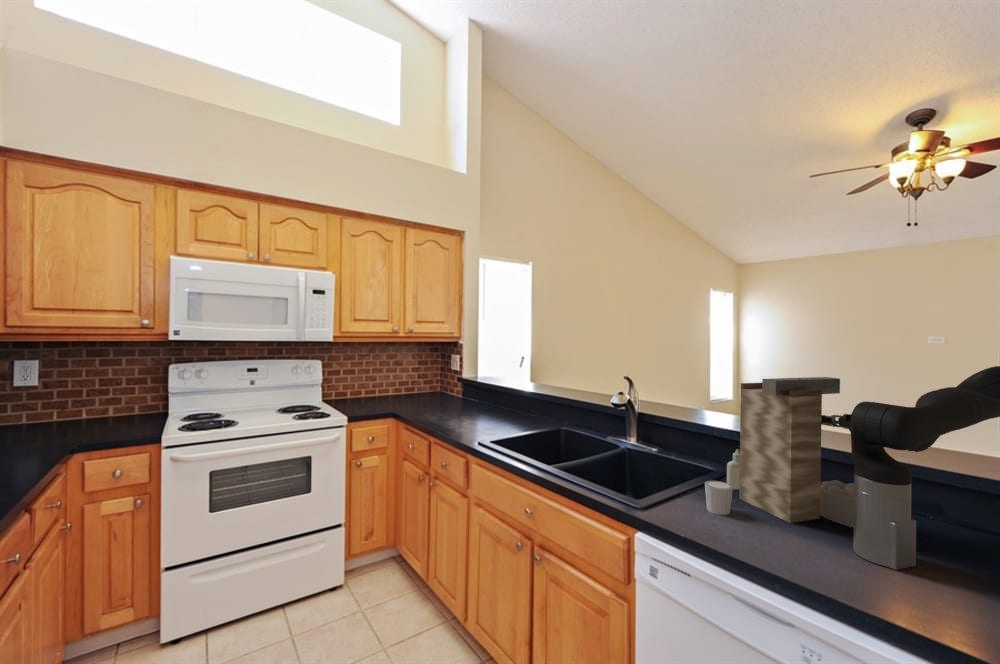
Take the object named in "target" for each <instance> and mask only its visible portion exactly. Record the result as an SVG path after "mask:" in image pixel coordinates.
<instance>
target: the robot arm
mask: <svg viewBox="0 0 1000 664" xmlns="http://www.w3.org/2000/svg"><path fill="white" fill-rule="evenodd" d="M836 418H838V419H837V420H836ZM995 418H1000V366H999V365H996V366H991V367H990V366H989V367H988V368H984V369H982V370H980V371H977V372H975V373H974V374H972V375H970V376H968V377H966V378H965V379H964V380H963V381H961V382H960V383H959V384H958V385H957V386H948V387H943V388H940V389H939V388H938V389H935V390H931V391H928V392H925V393H924V394H922V395H920V397H919V398H917V400H916V403H915V406H910V407H909V406H904V405H903V406H902V405H897V404H889V403H884V402H883V403H882V402H876V401H861V402H859V403H858V404H856V405H855V406H854V408H853V409H852V412H851V413H850V414H848V413H843V415H839V414H831V415H825V414H823V415H822V420H821V426H829V427H832V428H842V429H845V430H848V431H849V432H850V447H851V460H852V464H853V466H854V482H853V483H854V528H853V539H852V540H853V546H852V547H853V552H854V553H855V555H857V556H859V557H860V558H862V559H864V560H866V561H869V562H870V563H874V564H877V565H880V566H884V567H887V568H890V569H892V570H895V571H897V570H900V569H901V570H902V569H907V568H910V567H911V568H912V567H916V565H917V521H916V520H915V519H913V518H912V484H913V483H912V480H913V479H912V478H913V473H912V470H911V469H910V468H909V467H908V466H906V465H905V464H903V463H901V462H900V461H898V460H896V459H895V458H894V457H892V456H891V455H890V454H889V453H888V452H887V451H886V450H885V448H887V449H890V450H895V451H907V450H908V451H907V452H910V451H915V452H914V453H919V452H920V453H921V452H924V451H925V450H928V449H929V448H931V447H932V446H933V445H934V444H935V442H936V441H937V440H938V439H939V437H941V436H943V435H946V434H948V433H951V432H952V433H953V432H955V431H959V430H962V429H965V428H968V427H973V426H974V425H977V424H979V423H981V422H984V421H987V420H991V419H995ZM928 447H929V448H928Z"/></svg>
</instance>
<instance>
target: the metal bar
mask: <svg viewBox="0 0 1000 664" xmlns="http://www.w3.org/2000/svg"><path fill="white" fill-rule="evenodd" d="M761 380H762V381H761V383H762V394H765V395H771V396H789V391H797V390H822V395H831V394H832V395H834V394H836V395H837V394H840V393H841V378H838V377H828V376H817V377H814V376H813V377H812V376H811V377H810V376H809V377H782V378H781V377H780V378H762V379H761Z"/></svg>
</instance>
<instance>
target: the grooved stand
mask: <svg viewBox="0 0 1000 664" xmlns="http://www.w3.org/2000/svg"><path fill="white" fill-rule="evenodd" d="M822 399H823V394H822V390H797V391H789V396H771V395H765V394H762V382H742V383H740V420H739V421H740V422H739V424H740V425H739V426H740V427H739V430H740V431H739V433H740V434H739V435H740V436H739V453H740V486H739V490H738V491H739V492H738V493H739V494H738V495H739V496H738V497H739V498H738V499H739V500H741V501H743V502H745V503H747V504H750V505H751V506H754V507H755V508H757V509H761V510H762V511H764V512H767V513H769V514H771V515H772V516H775V517H777V518H779V519H781V520H783V521H785V522H787V523H789V524H791V523H797V522H798V523H799V522H805V521H806V522H807V521H812V520H813V521H814V520H819V519H821V515H820V487H821V482H822V481H821V476H822V475H821V474H822V473H821V471H822V468H821V467H822V425H821V420H822V414H823V413H822V407H823V400H822Z"/></svg>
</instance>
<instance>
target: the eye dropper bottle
mask: <svg viewBox="0 0 1000 664" xmlns="http://www.w3.org/2000/svg"><path fill="white" fill-rule="evenodd" d="M726 483H727V484H730V485H731V486H733V490H732V491H734V490H735V491H739V486H740V449H738V448H737V449H735V452H733V453H732V460H730V461H728V462H727V463H726Z"/></svg>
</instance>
